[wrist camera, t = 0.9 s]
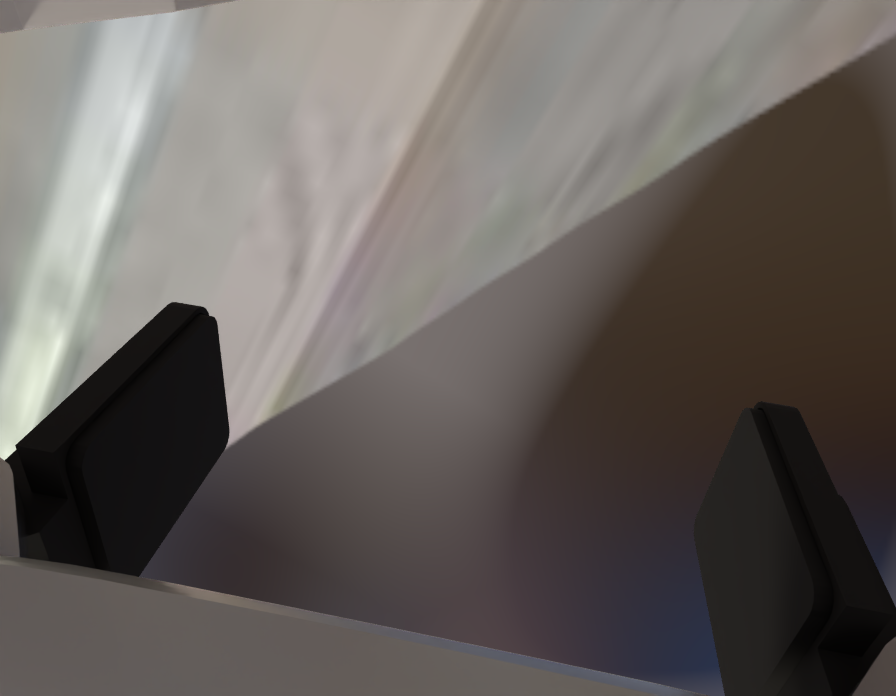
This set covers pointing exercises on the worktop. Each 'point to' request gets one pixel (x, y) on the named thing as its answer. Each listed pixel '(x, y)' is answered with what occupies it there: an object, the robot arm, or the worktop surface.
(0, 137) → the worktop surface
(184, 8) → the milk carton
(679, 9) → the worktop surface
